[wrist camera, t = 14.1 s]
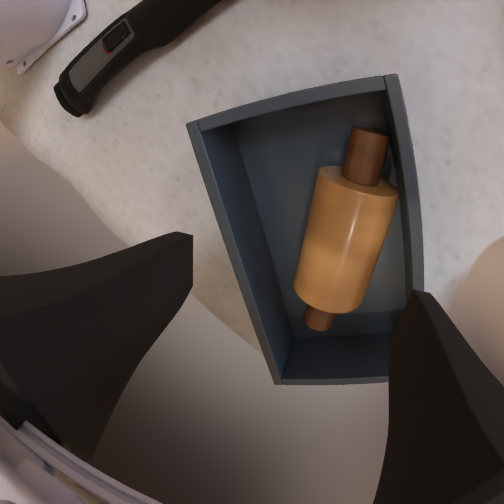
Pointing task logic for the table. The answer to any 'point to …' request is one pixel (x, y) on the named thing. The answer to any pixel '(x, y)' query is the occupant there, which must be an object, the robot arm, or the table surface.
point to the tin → (296, 216)
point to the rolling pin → (345, 230)
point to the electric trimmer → (124, 47)
